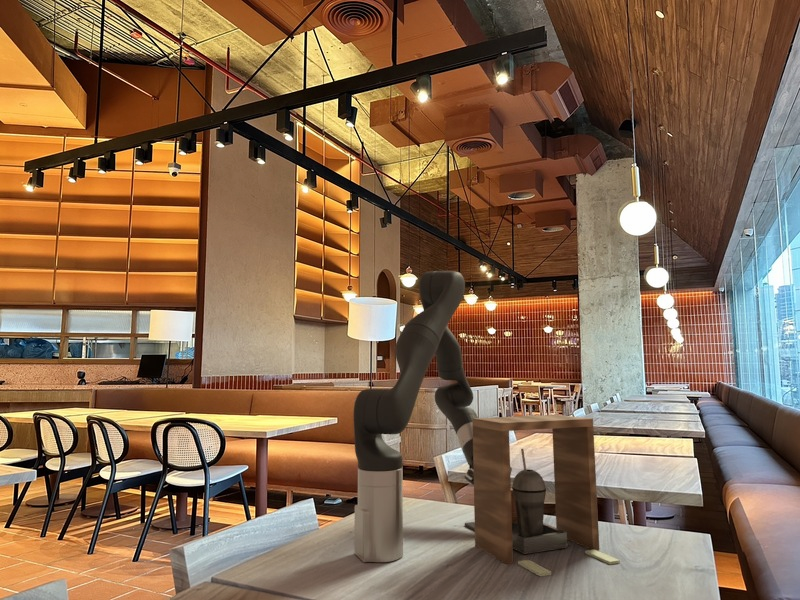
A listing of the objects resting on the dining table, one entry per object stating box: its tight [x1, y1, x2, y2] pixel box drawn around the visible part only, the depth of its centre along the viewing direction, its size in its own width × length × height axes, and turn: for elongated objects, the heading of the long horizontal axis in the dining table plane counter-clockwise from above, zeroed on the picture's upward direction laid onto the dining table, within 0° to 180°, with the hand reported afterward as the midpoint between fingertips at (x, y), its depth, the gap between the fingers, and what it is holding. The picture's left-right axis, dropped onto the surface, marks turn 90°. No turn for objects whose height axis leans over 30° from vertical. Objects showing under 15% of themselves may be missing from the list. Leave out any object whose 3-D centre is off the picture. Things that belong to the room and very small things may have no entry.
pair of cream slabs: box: [517, 549, 621, 577], centre depth 106 cm, size 18×7×1 cm, turn 112°
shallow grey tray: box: [511, 487, 568, 555], centre depth 119 cm, size 11×13×10 cm
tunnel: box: [472, 414, 600, 565], centre depth 118 cm, size 23×12×27 cm, turn 112°
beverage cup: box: [511, 448, 547, 537], centre depth 119 cm, size 7×7×20 cm
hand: (503, 504), depth 128 cm, fingers closed
